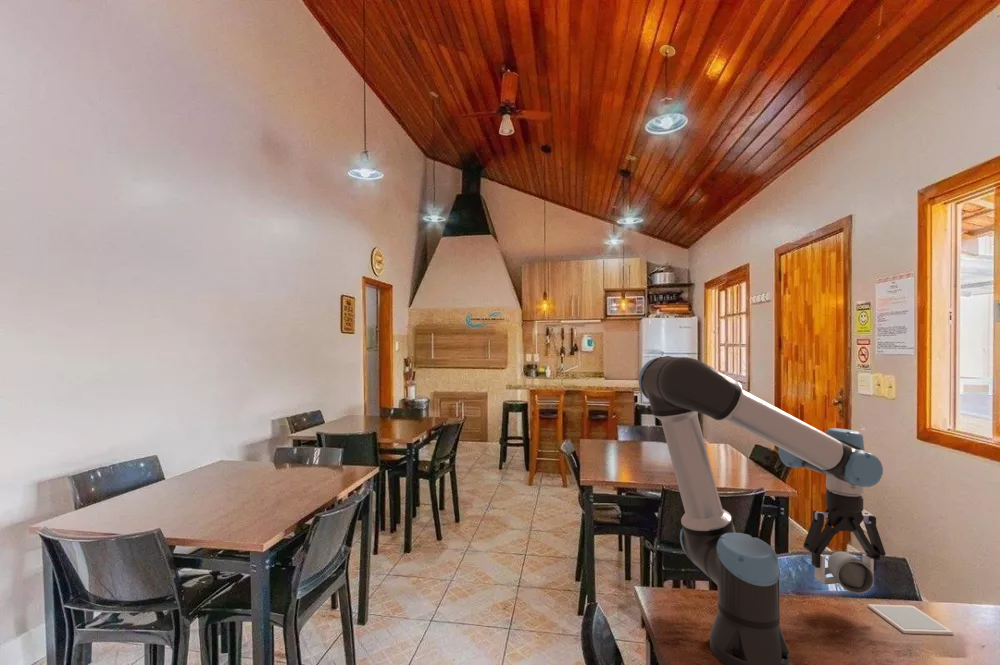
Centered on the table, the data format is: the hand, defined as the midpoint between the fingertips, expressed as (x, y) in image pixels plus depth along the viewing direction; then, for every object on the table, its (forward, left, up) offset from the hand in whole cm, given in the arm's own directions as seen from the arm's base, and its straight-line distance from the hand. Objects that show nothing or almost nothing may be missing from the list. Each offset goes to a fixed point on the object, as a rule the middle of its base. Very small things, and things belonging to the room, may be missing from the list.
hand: (843, 581), depth 114 cm
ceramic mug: (0, 0, -1) cm, 1 cm away
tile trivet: (+14, -2, -8) cm, 16 cm away
